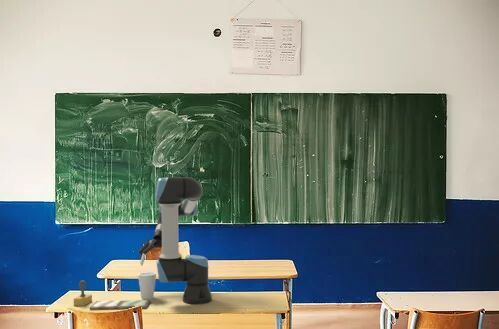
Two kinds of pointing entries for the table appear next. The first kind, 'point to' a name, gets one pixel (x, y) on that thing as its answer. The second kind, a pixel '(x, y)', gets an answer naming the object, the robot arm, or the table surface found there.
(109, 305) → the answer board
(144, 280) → the foam cup
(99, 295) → the table surface
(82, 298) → the rubber stamp
